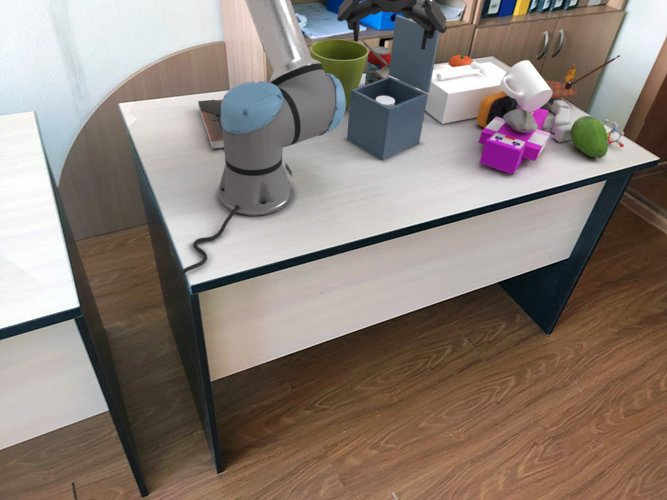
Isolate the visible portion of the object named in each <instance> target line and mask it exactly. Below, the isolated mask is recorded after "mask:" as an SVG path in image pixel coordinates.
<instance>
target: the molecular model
mask: <svg viewBox="0 0 667 500" xmlns="http://www.w3.org/2000/svg"><path fill="white" fill-rule="evenodd" d="M602 123H603V125H604V126H605V125H606V124H611V125H612V129H610V131H609V132H606V133H607V140H608V145H611V144H612V143H616V144H618V146H619V147H620V148H623V147H625V144H624V143H622V142H621V138H622V136H624V135H625V132H624V131H619V129H618V128H619V124H618V122H617V121H609V119H608V118H605V119H604V120H603V122H602ZM615 133H618V134H619V136H618V138H616V139H614V140H611V139H610V138H611V135H612V134H615Z"/></svg>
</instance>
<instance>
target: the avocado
mask: <svg viewBox="0 0 667 500" xmlns="http://www.w3.org/2000/svg"><path fill="white" fill-rule="evenodd" d="M603 123H604V122H602V121H601V120H600V119H598V117H594V116H591V115H584V116H581V117H579V118H577V119H576V120H575V121H574V122H573V123H572V124H573V126H572V128H571V139H572V140H571V142H572V143H573V145H574V146H575V148H576V149H577V150H579V151H580V152H582V153H583V154H584V155H586V156H588V157H590V158H593V159H601V158H603V157H605V156H607V153H608V150H609V144H608V140H607V133H608V132H607V129H606V127H605V125H603Z"/></svg>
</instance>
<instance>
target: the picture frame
mask: <svg viewBox="0 0 667 500" xmlns="http://www.w3.org/2000/svg"><path fill="white" fill-rule="evenodd" d="M222 100H223V99H207V100H197V104H198V111H199V113H200V116H201V119H202V122H203V125H204V129H205V131H206V134H207V138H208V140H209V143H210V146H211V149H213V150H217V149H224V143H223V132H222V125H221V121H220V118H221V102H222Z"/></svg>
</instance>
